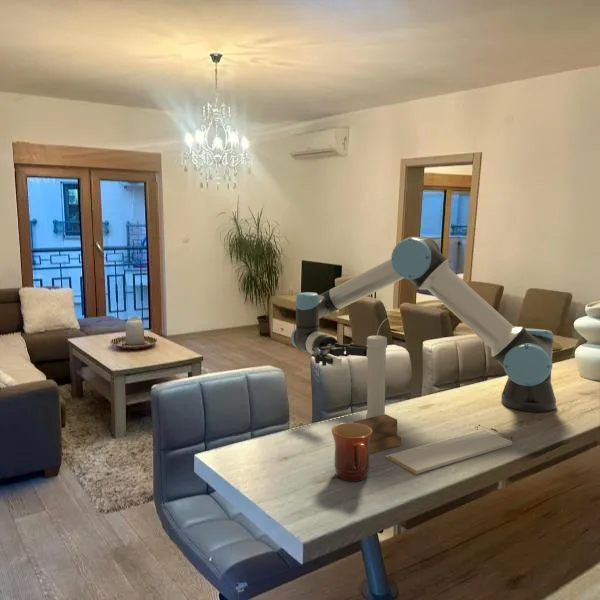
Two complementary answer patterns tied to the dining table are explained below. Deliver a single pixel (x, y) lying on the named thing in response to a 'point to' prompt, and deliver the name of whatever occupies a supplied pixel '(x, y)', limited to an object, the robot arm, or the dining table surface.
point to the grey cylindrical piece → (376, 375)
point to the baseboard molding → (448, 450)
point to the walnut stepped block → (382, 432)
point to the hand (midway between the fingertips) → (361, 360)
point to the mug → (351, 450)
